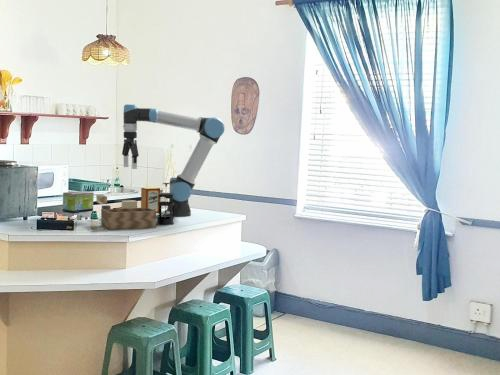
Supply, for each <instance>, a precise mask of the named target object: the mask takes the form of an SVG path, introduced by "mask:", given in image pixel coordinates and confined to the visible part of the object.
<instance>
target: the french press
mask: <svg viewBox="0 0 500 375" xmlns="http://www.w3.org/2000/svg"><path fill="white" fill-rule="evenodd" d="M162 185H164V186H165V190H167V187H168V185H170V183H169V182H163V183H162ZM158 195H159V197H160V198H165V199H166V200H163V201H160V202H158V205H159V212H158V213H157V214H158V216H157V217H156V225H162V226H172V225H174V224H175V223H174V219H175V217H176V216H175V202H169V201H167V199H170V198H173V195H174V194H172V193H170V192H160V193H158ZM168 206H170V211H166V210H167V207H168ZM163 207H164V208H165V209H164V210H162V208H163ZM166 214H170V216H162V215H166Z"/></svg>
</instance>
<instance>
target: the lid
mask: <svg viewBox="0 0 500 375" xmlns="http://www.w3.org/2000/svg"><path fill="white" fill-rule="evenodd" d="M121 208H138V201H137V200H135V199H134V200H132V199H131V200H121Z"/></svg>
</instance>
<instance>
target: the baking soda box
mask: <svg viewBox="0 0 500 375" xmlns="http://www.w3.org/2000/svg"><path fill="white" fill-rule="evenodd" d="M140 188H141V191H140V192H141V194H140V198H141V199H140V208H150V209H152V210H155V211H156V214H159V213H158V212H159V205H158V202H161V197H159V195H158V193H161V188H160V187H155V186H153V187H152V186H144V187H140Z"/></svg>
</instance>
